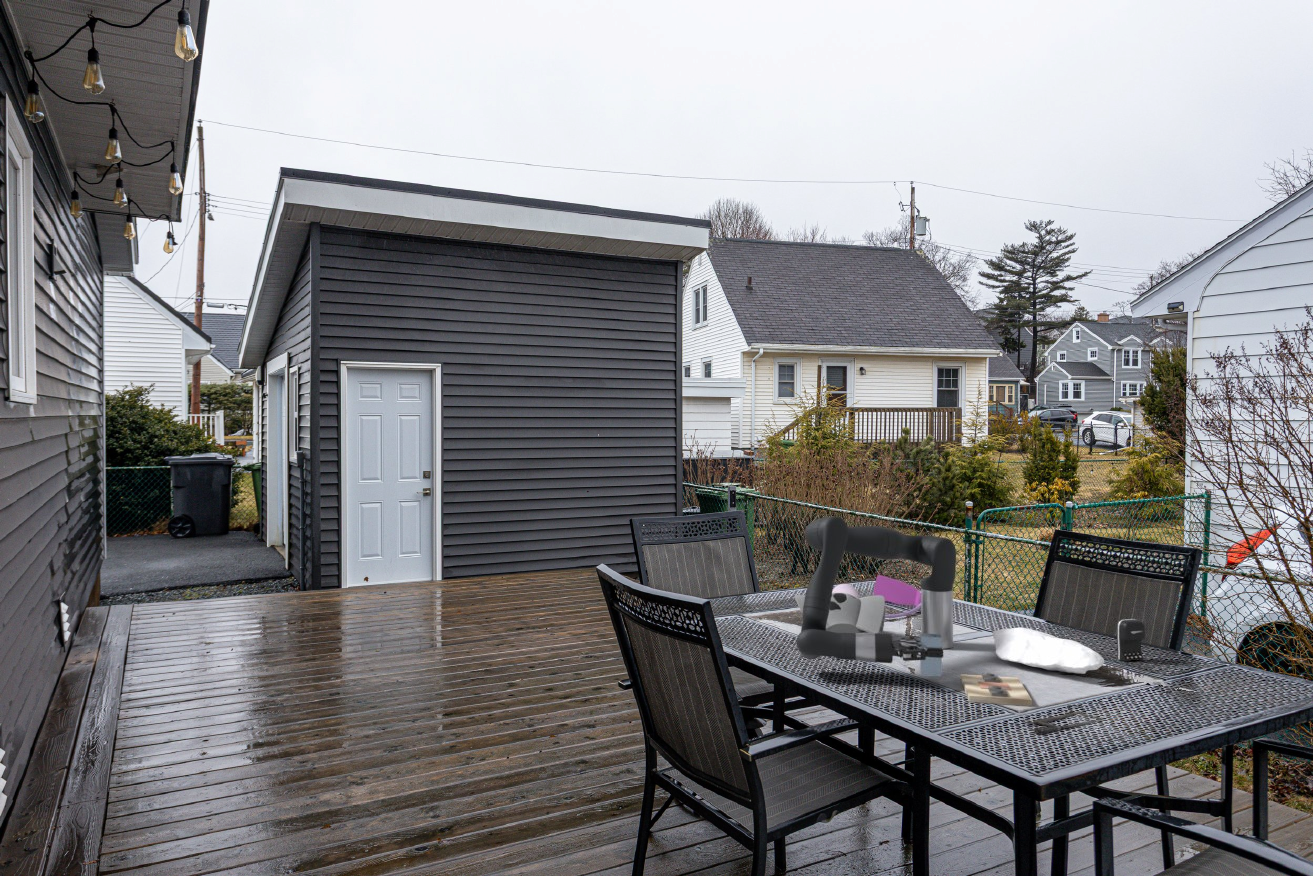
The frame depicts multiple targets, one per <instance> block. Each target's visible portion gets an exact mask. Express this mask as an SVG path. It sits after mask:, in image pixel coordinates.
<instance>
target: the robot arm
mask: <svg viewBox="0 0 1313 876" xmlns="http://www.w3.org/2000/svg"><path fill="white" fill-rule="evenodd" d="M804 538H805V541H806V543H807V544H808V546H810V547H811V548H812V549H813V550H816V551H818V552H822V554H821V558H820V561H819V564H818V565H817V568H816V570H815V572H814V573H813V575H812V578H811V579H810V580H809V583H808V585H807V588H806V591H805V595H804V596H805V599H804V605H803V613H802V612H801V614H802V622H801V623H802V624H801V628H800V632H799V634H798V635H797V637H796V647H797V649H798V653H800V655H801V656H802V657H804V658H805V659H806V660H817V659H818V658H820V657H832V658H836V660H837V659H838V660H844V661H845V660H846V661H859V662H863V663H864V662H865V663H883V664H892V663H893V660H894V659H893V657H898V658H900V659H902V661H904V662H907V661H909V662H912V661H920V660H926V658H928V657H935V658H944V649H950V648H951V649H952V648H953V647H954V606H953V605H954V599H953V598H954V597H953V596H954V595H953V593H954V592H953V590H954V587H953V586H954V584H955V583H954V582H955V580H956V569H957V568H956V567H957V565H956V564H957V551H956V549H957V548H956V546H955V543H954V541H953V540H951V539H949V538H947V537H942V536H936V535H935V536H934V535H912V534H905V533H903V532H901V531H899V530H896V529H892V528H887V527H882V526H876V525H875V526H873V525H872V526H865V525H864V526H862V525H861V526H860V525H859V526H848V524H847V523H846V521H845V520H844V519H843V518H841V517H840V516H835V515H832V516H827V517H822V518H817V519H815V520H813V521H811V522H810V523H808V525H807V526H806V527H805V530H804ZM845 552H846V553H848V554H849V553H851V554H854V555H860V556H864V557H869V558H874V559H881V560H886V561H887V560H890V561H891V560H899V559H903V560H904V559H905V560H909V561H913V562H915V563H919V564H922V565H924V566H928V567H929V566H930V567H931V574H930V575H929V576H926V577H923V578H922V579H921V580H920V593H921V608H920V612H921V614H920V616H921V617H920V620H921V621H920V625H921V627H920V631H921V632H920V633H926V634H940V635H941V649H939V648H926V647H920V639H912V638H911V639H910V638H905V637H902V638H900V639H899V640H895V641H894V640H893V636H892V633H884V632H883V633H836V632H830V631H826V623H827V619H828V615H829V609H830V602H831V596H832V591H833V589H834V586H835V581H836V578H837V575H838V571H839V568H840V567H841V566H840V565H841V562H842V559H843V557H844V553H845ZM920 652H921V655H920Z"/></svg>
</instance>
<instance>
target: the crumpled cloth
mask: <svg viewBox="0 0 1313 876" xmlns="http://www.w3.org/2000/svg"><path fill="white" fill-rule="evenodd" d="M992 637H993V640H994V645H995V654H996V655H997V657H998V658H999V659H1000V660H1003V661H1009V662H1013V663H1020V664H1022V665H1026V666H1030V667H1034V668H1040V669H1044V670H1047V671H1057V672H1058V671H1059V672H1065V673H1068V674H1069V673H1074V674H1080V675H1081V674H1082V675H1083V674H1086V673H1087V672H1088V671H1095V670H1099V668H1101V667H1102V666H1103V665H1104V664H1105V659H1104V657H1103V656H1102V655H1101V654H1100V653H1098V652H1097V651H1095V650H1093V649H1092V648H1090V647H1089V646H1086V645H1083V644H1082V643H1080V642H1078V641H1076V640H1072V639H1066V638H1059V637H1056V636H1054V635H1052V634H1048V633H1046V632H1042V631H1038V630H1034V629H1031V628H1028V627H1027V628H1026V627H1013V628H1002V629H997V630H994V631H993V632H992Z"/></svg>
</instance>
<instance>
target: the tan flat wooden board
mask: <svg viewBox="0 0 1313 876" xmlns="http://www.w3.org/2000/svg"><path fill="white" fill-rule="evenodd" d="M960 681H961V685H962V687H963V690H964V692H965V695H966V697H967V700H968V702H969V703H979V704H980V703H982V704H983V703H984V704H996V705H1009V706H1010V705H1011V706H1021V707H1023V706H1025V707H1033V699H1032V698H1031V696H1030V695H1029V693H1028V691H1027V690H1026V688H1025V686H1024V685H1023V683H1022V682H1021V680H1020V678H1019V677H1015V676H1014V677H1013V676H999V675H998V674H995V673H991V672H989V673H988V672H987V673H982V675H981V674H979V675H978V674H966V673H965V674H963V673H961V674H960Z"/></svg>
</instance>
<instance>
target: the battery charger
mask: <svg viewBox="0 0 1313 876" xmlns="http://www.w3.org/2000/svg"><path fill="white" fill-rule="evenodd" d="M1145 625H1146V624H1145V623H1144V622H1143V621H1141V620H1138V619H1135V618H1127V619H1120V620H1118V622H1117V624H1116V645H1117V648H1116V649H1117V657H1116V658H1117V659H1118V660H1121V661H1123V662H1132V661H1131V660H1140V661H1143V660H1144V656H1143V653H1142V642H1143V640H1146V626H1145ZM1142 659H1143V660H1142Z"/></svg>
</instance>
